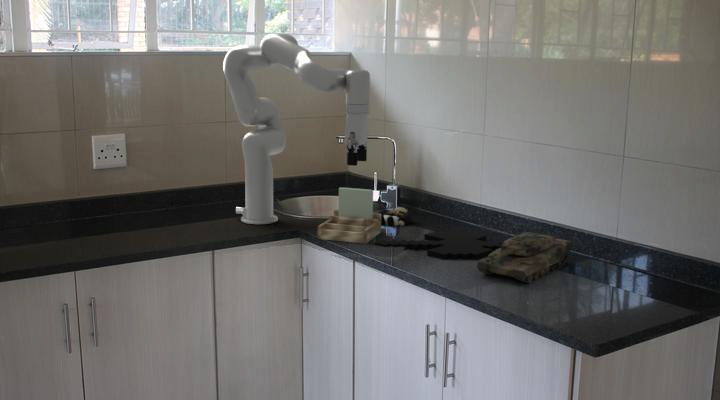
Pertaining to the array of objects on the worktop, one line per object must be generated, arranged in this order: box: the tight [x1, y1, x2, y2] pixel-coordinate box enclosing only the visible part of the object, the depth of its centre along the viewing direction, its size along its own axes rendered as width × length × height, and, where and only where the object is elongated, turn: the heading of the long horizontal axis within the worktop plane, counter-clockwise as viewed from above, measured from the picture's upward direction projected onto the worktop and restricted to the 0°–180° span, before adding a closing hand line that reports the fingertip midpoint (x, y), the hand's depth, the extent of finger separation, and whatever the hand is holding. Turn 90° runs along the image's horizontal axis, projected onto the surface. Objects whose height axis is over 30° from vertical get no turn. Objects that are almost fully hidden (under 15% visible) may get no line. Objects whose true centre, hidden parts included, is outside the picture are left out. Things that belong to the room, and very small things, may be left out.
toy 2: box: [476, 231, 573, 284], centre depth 224 cm, size 13×37×10 cm, turn 141°
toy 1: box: [377, 206, 413, 227], centre depth 280 cm, size 12×8×15 cm
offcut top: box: [338, 216, 366, 226], centre depth 259 cm, size 8×4×2 cm, turn 76°
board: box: [337, 187, 374, 219], centre depth 264 cm, size 11×2×14 cm, turn 72°
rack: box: [317, 209, 382, 244], centre depth 259 cm, size 16×16×7 cm
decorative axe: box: [374, 230, 503, 261], centre depth 251 cm, size 32×2×30 cm
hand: (357, 163), depth 260 cm, fingers open, 9 cm apart
